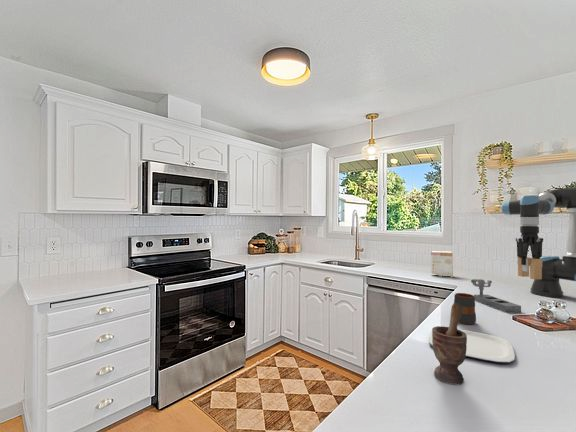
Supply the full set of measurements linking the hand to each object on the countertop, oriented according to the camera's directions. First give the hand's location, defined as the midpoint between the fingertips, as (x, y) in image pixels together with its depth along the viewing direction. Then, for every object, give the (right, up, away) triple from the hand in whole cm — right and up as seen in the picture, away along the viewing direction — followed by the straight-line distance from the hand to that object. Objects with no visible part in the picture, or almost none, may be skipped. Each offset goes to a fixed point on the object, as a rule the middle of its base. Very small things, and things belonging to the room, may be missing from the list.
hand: (529, 271), depth 152 cm
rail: (-15, -19, +3) cm, 24 cm away
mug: (-45, -18, -20) cm, 53 cm away
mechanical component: (-11, -19, +21) cm, 30 cm away
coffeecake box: (0, -20, +86) cm, 88 cm away
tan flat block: (0, -3, 0) cm, 3 cm away
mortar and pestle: (-77, -18, -67) cm, 104 cm away
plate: (-59, -18, -46) cm, 77 cm away
